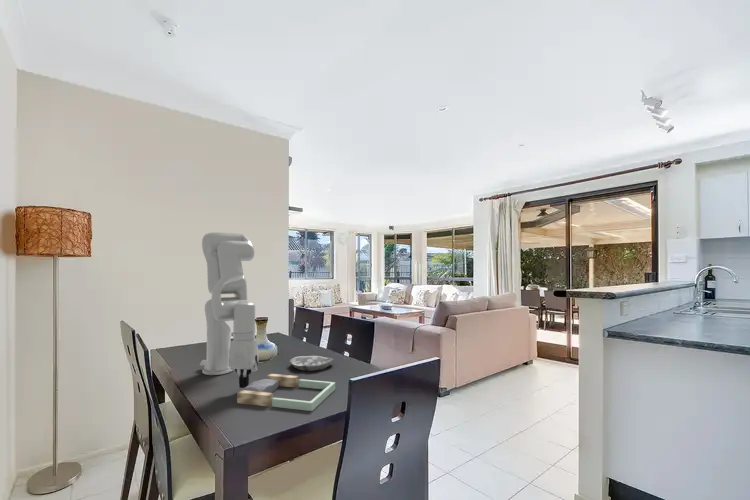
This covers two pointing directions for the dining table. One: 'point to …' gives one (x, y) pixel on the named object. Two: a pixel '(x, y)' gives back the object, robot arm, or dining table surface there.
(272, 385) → the stone block
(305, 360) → the brain slice
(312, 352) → the dining table surface
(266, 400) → the blocks
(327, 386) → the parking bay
